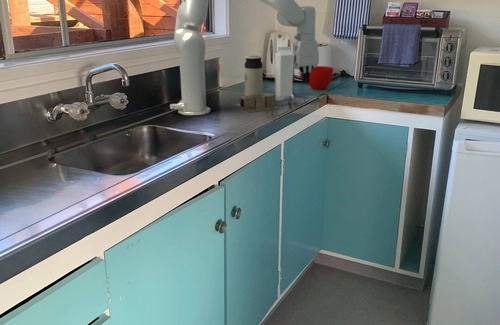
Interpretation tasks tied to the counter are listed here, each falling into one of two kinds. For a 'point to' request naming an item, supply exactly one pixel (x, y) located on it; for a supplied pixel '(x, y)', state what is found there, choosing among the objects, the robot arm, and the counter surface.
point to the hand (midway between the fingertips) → (305, 81)
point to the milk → (283, 71)
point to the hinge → (258, 102)
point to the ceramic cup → (320, 77)
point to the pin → (285, 98)
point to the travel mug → (253, 75)
